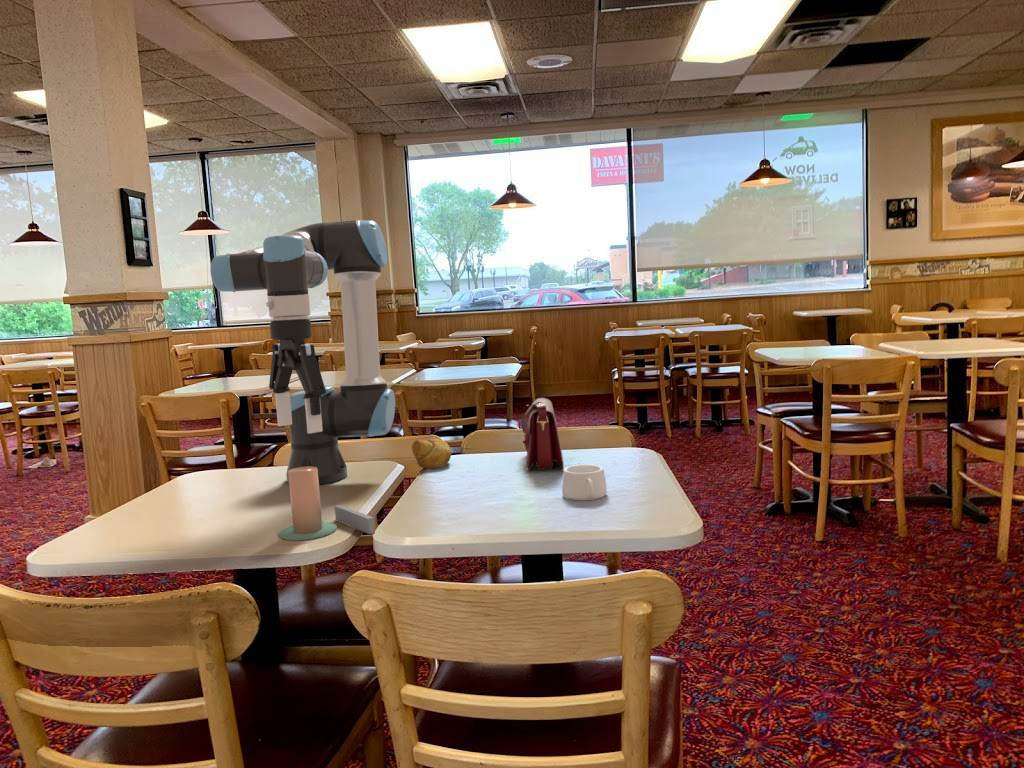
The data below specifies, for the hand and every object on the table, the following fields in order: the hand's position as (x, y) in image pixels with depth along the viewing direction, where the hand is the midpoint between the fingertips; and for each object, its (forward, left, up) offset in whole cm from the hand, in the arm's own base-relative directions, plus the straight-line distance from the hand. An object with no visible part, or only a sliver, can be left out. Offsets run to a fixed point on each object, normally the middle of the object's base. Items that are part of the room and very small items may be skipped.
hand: (299, 428), depth 146 cm
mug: (+24, +53, -21) cm, 62 cm away
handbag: (-9, +71, -21) cm, 74 cm away
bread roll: (-30, +51, -21) cm, 63 cm away
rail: (+4, +8, -21) cm, 22 cm away
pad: (0, 0, -21) cm, 21 cm away
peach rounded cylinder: (0, 0, -20) cm, 20 cm away
